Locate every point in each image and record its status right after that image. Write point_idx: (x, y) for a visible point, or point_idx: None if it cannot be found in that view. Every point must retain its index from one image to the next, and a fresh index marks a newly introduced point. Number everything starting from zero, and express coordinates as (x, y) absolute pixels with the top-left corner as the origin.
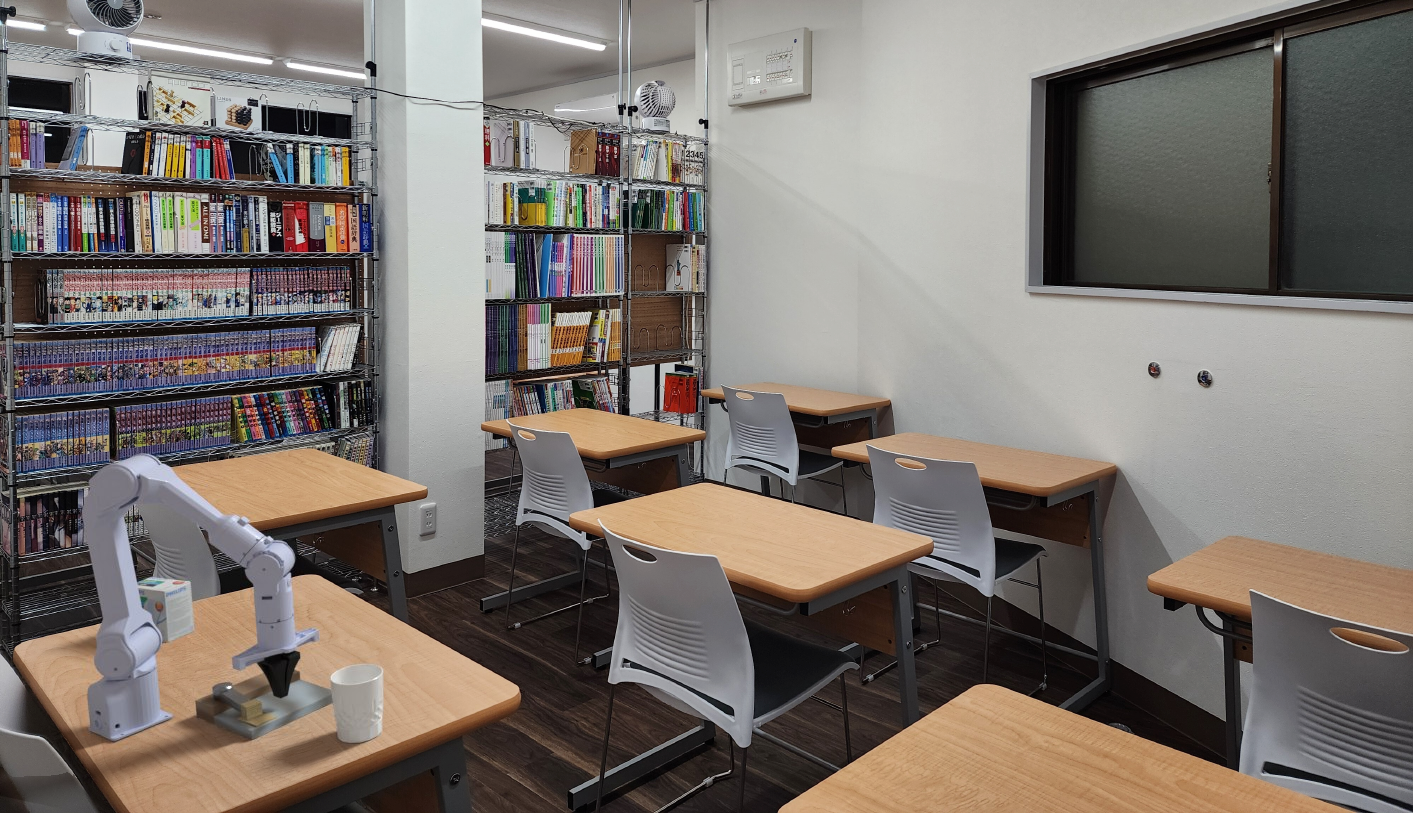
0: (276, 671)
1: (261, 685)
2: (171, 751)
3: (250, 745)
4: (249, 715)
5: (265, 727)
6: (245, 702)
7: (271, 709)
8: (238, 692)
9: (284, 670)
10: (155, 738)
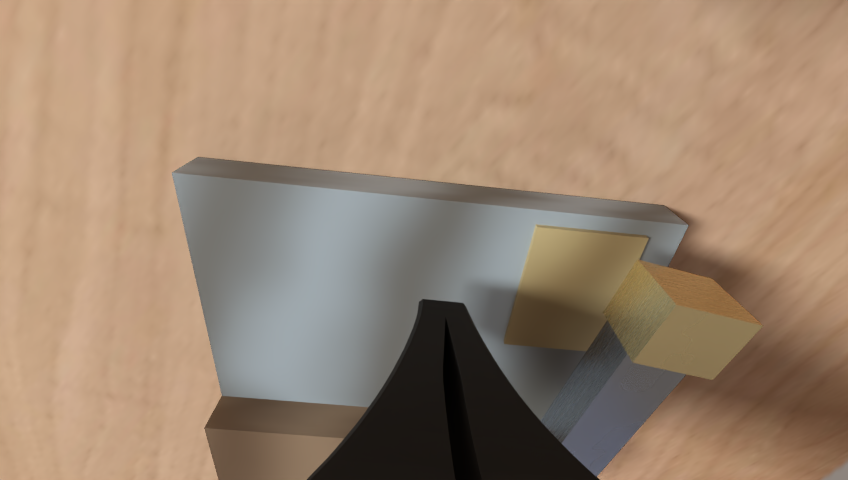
0: (583, 467)
1: None
2: (775, 374)
3: (713, 172)
4: (710, 286)
5: (609, 211)
6: (692, 372)
7: (476, 304)
8: None
9: (480, 440)
10: (691, 454)
